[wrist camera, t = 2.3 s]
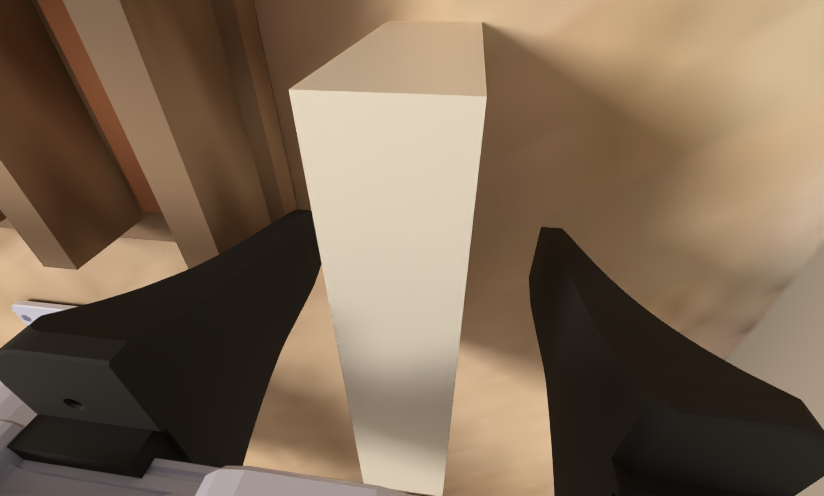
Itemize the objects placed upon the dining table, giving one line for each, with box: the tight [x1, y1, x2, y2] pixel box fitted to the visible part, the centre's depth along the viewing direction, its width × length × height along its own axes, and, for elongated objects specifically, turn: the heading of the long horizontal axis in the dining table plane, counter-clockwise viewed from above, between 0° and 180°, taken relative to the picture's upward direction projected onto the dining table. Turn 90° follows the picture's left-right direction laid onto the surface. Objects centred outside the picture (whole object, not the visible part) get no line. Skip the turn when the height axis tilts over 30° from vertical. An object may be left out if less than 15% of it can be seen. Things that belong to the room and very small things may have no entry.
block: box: [288, 20, 487, 496], centre depth 11 cm, size 12×2×7 cm, turn 0°
